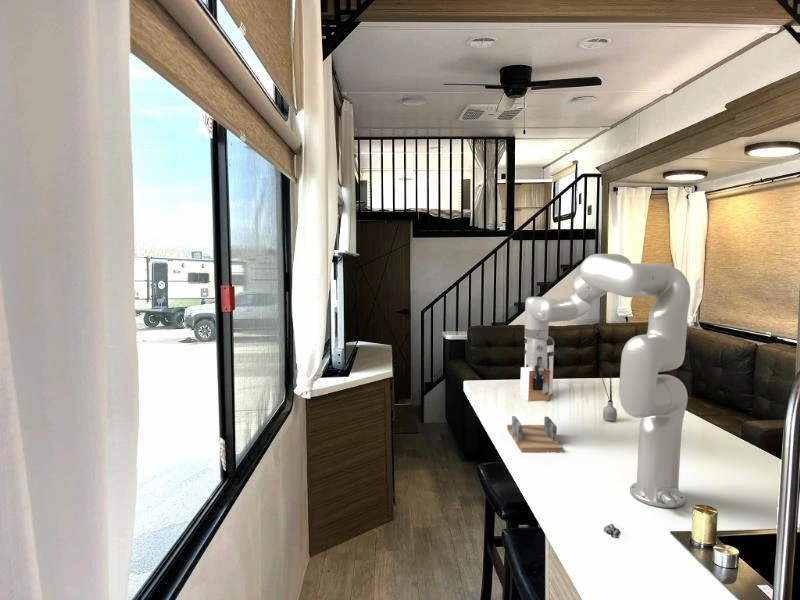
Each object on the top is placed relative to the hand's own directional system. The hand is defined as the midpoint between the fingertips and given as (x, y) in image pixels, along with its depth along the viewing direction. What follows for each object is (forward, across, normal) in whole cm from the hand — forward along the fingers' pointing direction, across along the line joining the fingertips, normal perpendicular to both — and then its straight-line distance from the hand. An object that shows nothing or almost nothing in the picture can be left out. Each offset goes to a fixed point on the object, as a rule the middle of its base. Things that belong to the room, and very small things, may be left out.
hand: (534, 386), depth 168 cm
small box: (+4, 0, 0) cm, 4 cm away
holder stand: (+18, 0, 0) cm, 18 cm away
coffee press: (+18, +52, -16) cm, 57 cm away
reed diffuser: (+18, +22, -34) cm, 44 cm away
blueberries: (+19, -57, -4) cm, 60 cm away
